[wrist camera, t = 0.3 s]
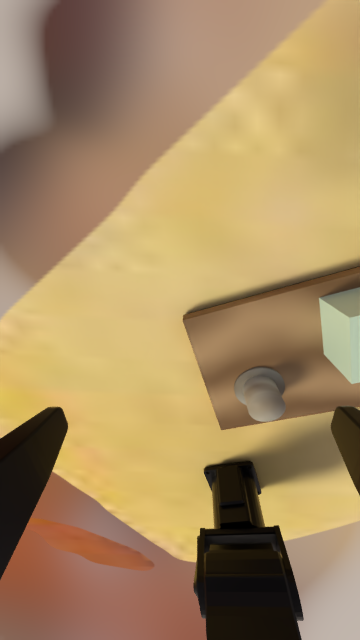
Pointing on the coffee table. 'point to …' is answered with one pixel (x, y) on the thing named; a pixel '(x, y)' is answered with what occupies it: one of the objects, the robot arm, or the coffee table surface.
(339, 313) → the pale green knobbed block
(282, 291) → the board
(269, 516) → the coffee table surface
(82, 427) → the coffee table surface
